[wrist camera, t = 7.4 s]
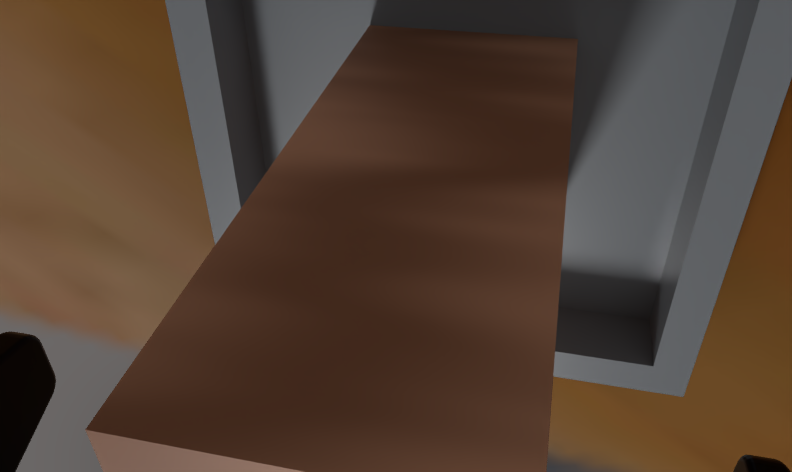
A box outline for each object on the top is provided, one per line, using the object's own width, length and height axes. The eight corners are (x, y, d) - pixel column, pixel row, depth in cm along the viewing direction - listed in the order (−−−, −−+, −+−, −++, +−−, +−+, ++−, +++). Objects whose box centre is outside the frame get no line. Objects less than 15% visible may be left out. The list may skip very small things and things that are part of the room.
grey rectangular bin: (822, -172, 12) (866, -144, 10) (674, 320, 18) (683, 397, 16) (199, -183, 14) (132, -163, 12) (267, 264, 20) (231, 325, 18)
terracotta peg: (577, 38, 13) (543, 516, 6) (553, 215, 16) (505, 722, 8) (369, 25, 14) (85, 430, 6) (376, 195, 17) (175, 640, 9)
